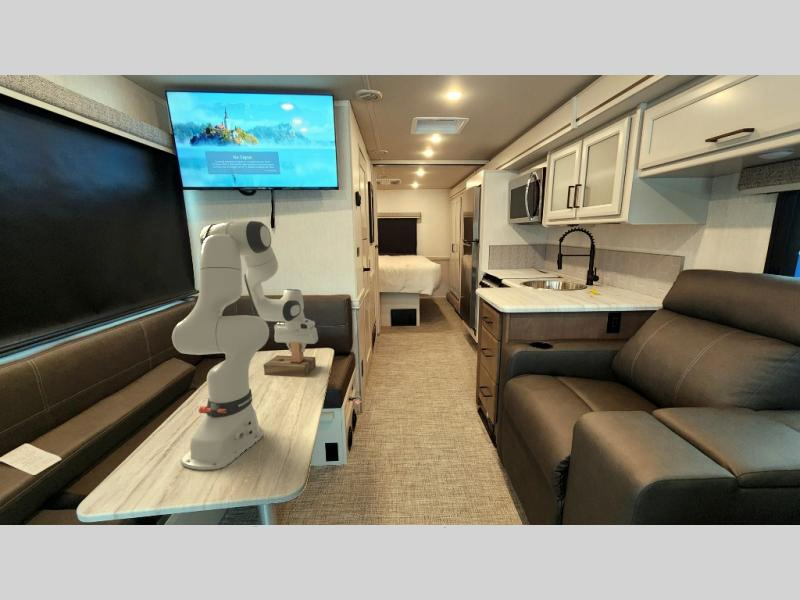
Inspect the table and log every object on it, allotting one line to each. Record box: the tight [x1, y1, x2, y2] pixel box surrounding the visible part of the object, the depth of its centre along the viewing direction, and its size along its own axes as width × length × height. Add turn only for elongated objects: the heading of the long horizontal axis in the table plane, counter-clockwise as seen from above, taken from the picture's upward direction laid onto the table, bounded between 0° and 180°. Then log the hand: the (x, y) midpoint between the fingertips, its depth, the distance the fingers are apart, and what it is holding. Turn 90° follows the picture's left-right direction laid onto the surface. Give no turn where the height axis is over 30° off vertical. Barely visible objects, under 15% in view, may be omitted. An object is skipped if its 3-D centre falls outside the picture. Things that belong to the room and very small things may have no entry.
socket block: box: [263, 354, 317, 378], centre depth 148 cm, size 12×20×5 cm, turn 82°
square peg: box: [290, 342, 305, 363], centre depth 147 cm, size 4×4×10 cm
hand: (297, 351), depth 147 cm, fingers closed on square peg, 4 cm apart
